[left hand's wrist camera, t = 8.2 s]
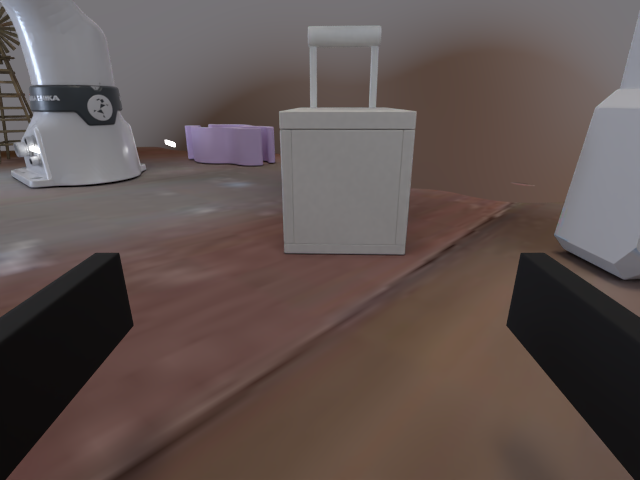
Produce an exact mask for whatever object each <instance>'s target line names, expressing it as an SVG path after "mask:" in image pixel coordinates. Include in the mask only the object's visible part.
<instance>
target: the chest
mask: <svg viewBox="0 0 640 480" xmlns="http://www.w3.org/2000/svg"><path fill="white" fill-rule="evenodd" d="M414 137H415V130H413V129H281V130H280V145H281V172H282V199H283V227H284V253H317V254H401V255H404V254H405V244H406V233H407V221H408V209H409V197H410V185H411V173H412V160H413V149H414Z"/></svg>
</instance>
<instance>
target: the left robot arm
mask: <svg viewBox="0 0 640 480" xmlns="http://www.w3.org/2000/svg"><path fill="white" fill-rule="evenodd" d="M133 326H134V325H133V320H132V315H131V310H130V305H129V300H128V295H127V290H126V285H125V280H124V275H123V270H122V265H121V260H120V255H119V253H95V254H93V255H92V256H90V257H89V258H87V259H86V260H84V261H83V262H82V263H80V264H79V265H77V266H76V267H74V268H73V269H71V270H70V271H68V272H67V273H65V274H64V275H62V276H61V277H59V278H58V279H56V280H55V281H53V282H52V283H51V284H49V285H48V286H46V287H45V288H43V289H42V290H40V291H39V292H37V293H36V294H34V295H33V296H31V297H30V298H28V299H27V300H25V301H24V302H22V303H21V304H20V305H18V306H17V307H15V308H14V309H12V310H11V311H9V312H8V313H6V314H5V315H3V316H2V317H0V480H6V479H7V477H8V476H9V475H10V474H11V472H12V471H13V470H14V469H15V468H16V466H17V465H18V464H19V463H20V462H21V460H22V459H23V458H24V457H25V456H26V454H27V453H28V452H29V451H30V450H31V448H32V447H33V446H34V445H35V444H36V442H37V441H38V440H39V439H40V438H41V436H42V435H43V434H44V433H45V432H46V430H47V429H48V428H49V427H50V426H51V424H52V423H53V422H54V421H55V420H56V418H57V417H58V416H59V415H60V413H61V412H62V411H63V410H64V409H65V407H66V406H67V405H68V404H69V403H70V401H71V400H72V399H73V398H74V397H75V395H76V394H77V393H78V392H79V391H80V389H81V388H82V387H83V386H84V385H85V383H86V382H87V381H88V380H89V379H90V377H91V376H92V375H93V374H94V373H95V371H96V370H97V369H98V368H99V367H100V365H101V364H102V363H103V362H104V360H105V359H106V358H107V357H108V356H109V354H110V353H111V352H112V351H113V350H114V348H115V347H116V346H117V345H118V344H119V342H120V341H121V340H122V339H123V338H124V336H125V335H126V334H127V333H128V332H129V330H130V329H131V328H132V327H133ZM506 326H507V327H508V328H509V329H510V330H511V332H512V333H513V334H514V335H515V336H516V338H517V339H518V340H519V341H520V342H521V344H522V345H523V346H524V347H525V348H526V350H527V351H528V352H529V353H530V354H531V356H532V357H533V358H534V359H535V360H536V362H537V363H538V364H539V365H540V367H541V368H542V369H543V370H544V371H545V373H546V374H547V375H548V376H549V377H550V379H551V380H552V381H553V382H554V383H555V385H556V386H557V387H558V388H559V389H560V391H561V392H562V393H563V394H564V395H565V397H566V398H567V399H568V400H569V401H570V403H571V404H572V405H573V406H574V407H575V409H576V410H577V411H578V412H579V413H580V415H581V416H582V417H583V418H584V420H585V421H586V422H587V423H588V424H589V426H590V427H591V428H592V429H593V430H594V432H595V433H596V434H597V435H598V436H599V438H600V439H601V440H602V441H603V442H604V444H605V445H606V446H607V447H608V448H609V450H610V451H611V452H612V453H613V454H614V456H615V457H616V458H617V459H618V460H619V462H620V463H621V464H622V465H623V466H624V468H625V469H626V470H627V471H628V472H629V474H630V475H631V476H632V477H633V479H634V480H640V317H638V316H637V315H635V314H634V313H632V312H631V311H629V310H628V309H626V308H625V307H623V306H622V305H620V304H619V303H618V302H616V301H615V300H613V299H612V298H610V297H609V296H607V295H606V294H604V293H603V292H601V291H600V290H598V289H597V288H595V287H594V286H592V285H591V284H589V283H588V282H587V281H585V280H584V279H582V278H581V277H579V276H578V275H576V274H575V273H573V272H572V271H570V270H569V269H567V268H566V267H564V266H563V265H561V264H560V263H558V262H557V261H556V260H554V259H553V258H551V257H550V256H548V255H547V254H545V253H521V255H520V260H519V265H518V270H517V275H516V280H515V285H514V290H513V295H512V300H511V305H510V310H509V315H508V320H507V325H506Z"/></svg>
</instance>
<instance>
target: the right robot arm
mask: <svg viewBox="0 0 640 480" xmlns="http://www.w3.org/2000/svg"><path fill="white" fill-rule="evenodd" d="M0 2H1V4H2V5H3V7H4V8H5V10H6V12H7V13H8V15H9V17H10V19H11V21H12V23H13V25H14V28H15V30H16V32H17V35H18V38H19V41H20V44H21V47H22V51H23V54H24V57H25V61H26V65H27V68H28V72H29V76H30V80H31V84H32V86H30V88H29V90H30V94H29V95H30V96H29V100H30V105H31V110H32V111H34V113H33V117H32V120H31V122H30V124H29V126H28V128H27V130H26V132H25V134H24V136H23V138H22V139H21V142H15V143H14V149H15V152H16V155H17V156H18V157H24V159H25V163H26V167H25V168H20V169H15V170H12V171H11V174H12V176H13V177H14V178H16V179H18V180H19V181H21V182H22V183H24V184H26V185H27V186H29V187H47V186H64V185H86V184H97V183H106V182H113V181H119V180H124V179H129V178H133V177H136V176H138V175H140V174H141V172H142V171H144V170H146V166H145V164H140V161H139V157H138V153H137V149H136V145H135V142H134V138H133V134H132V130H131V127H130V125H129V124H128V123H127V122H126V121H125V120H124V119H123V117H122V115H121V113H120V111H121V110H122V104H121V96H120V94H119V90H118V88H116V87H115V83H114V77H113V71H112V66H111V60H110V54H109V49H108V43H107V39H106V36H105V34H104V32H103V31H102V29H101V28H100V27H99V26H98V25H97V24H96V23H95V22H94V21H93V20H92V19H90V18H89V17H88V16H87V15H85V14H84V13H83V12H82V10H81V9H80V8H79V7H78V6H77V4H76V3H75V1H74V0H0ZM165 144H167V145H170V146H173V147H175V143H174V142H171V141H168V140H165Z"/></svg>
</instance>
